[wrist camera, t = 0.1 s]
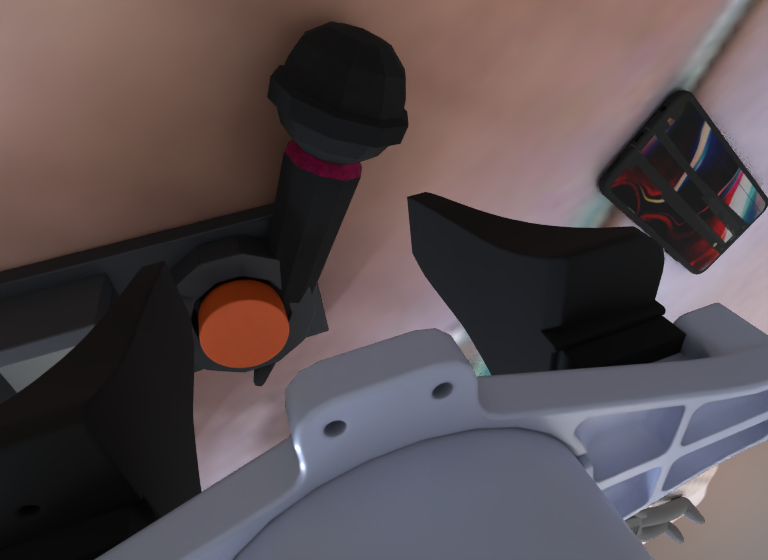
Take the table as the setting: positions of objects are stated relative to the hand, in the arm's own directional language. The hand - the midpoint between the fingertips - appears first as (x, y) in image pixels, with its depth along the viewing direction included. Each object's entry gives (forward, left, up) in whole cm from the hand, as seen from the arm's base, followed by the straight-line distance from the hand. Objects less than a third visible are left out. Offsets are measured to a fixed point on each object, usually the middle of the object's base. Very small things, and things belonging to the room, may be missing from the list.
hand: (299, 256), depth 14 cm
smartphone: (-10, -27, -10) cm, 30 cm away
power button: (-7, +3, -7) cm, 11 cm away
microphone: (-4, -1, -8) cm, 9 cm away
